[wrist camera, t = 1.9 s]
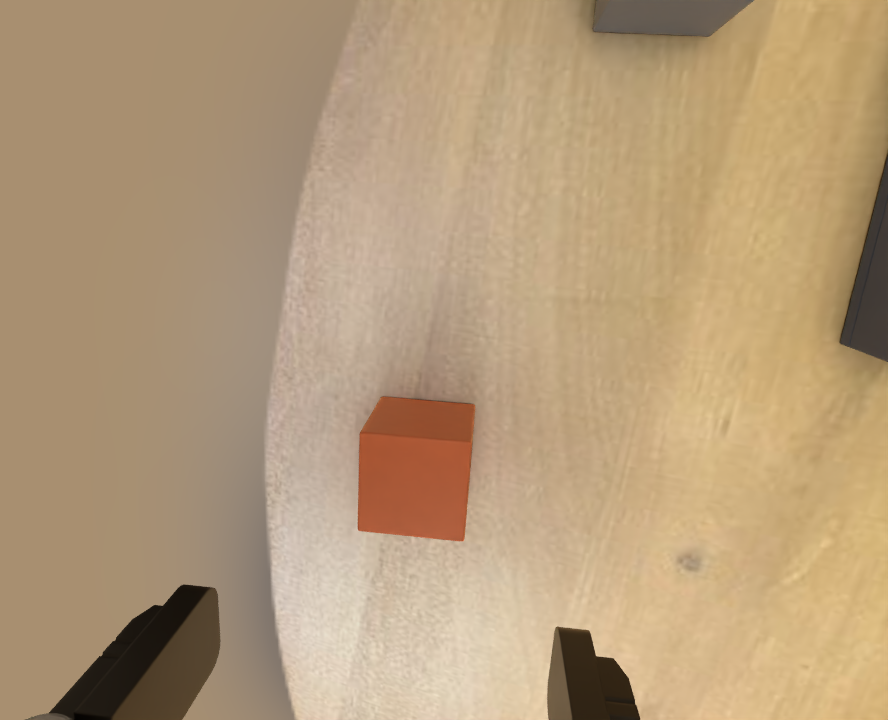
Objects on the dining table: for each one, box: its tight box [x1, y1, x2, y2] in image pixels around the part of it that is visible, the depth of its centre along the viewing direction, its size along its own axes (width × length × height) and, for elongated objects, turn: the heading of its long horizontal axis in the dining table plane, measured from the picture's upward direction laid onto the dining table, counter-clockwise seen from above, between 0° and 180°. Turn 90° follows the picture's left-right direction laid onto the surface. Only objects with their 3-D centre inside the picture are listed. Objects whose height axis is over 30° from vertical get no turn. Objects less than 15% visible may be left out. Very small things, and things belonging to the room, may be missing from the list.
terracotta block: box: [358, 397, 475, 541], centre depth 22 cm, size 4×4×4 cm
